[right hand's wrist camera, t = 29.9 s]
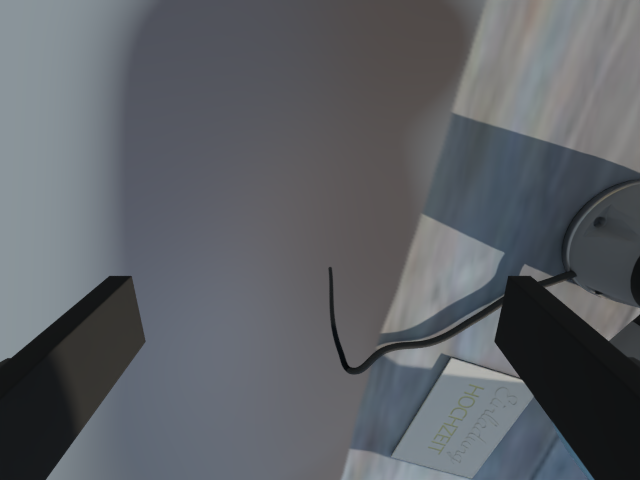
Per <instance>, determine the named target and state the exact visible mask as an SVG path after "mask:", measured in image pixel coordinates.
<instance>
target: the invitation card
mask: <svg viewBox="0 0 640 480" xmlns="http://www.w3.org/2000/svg"><path fill="white" fill-rule="evenodd" d="M533 397H534V396H533V394H532V393H531V391H530V390H529V389H528V387H527V386H526V385H525V383H524V382H523V380H522V379H519V378H516V377H513V376H509V375H506V374H503V373H500V372H497V371H493V370H490V369H487V368H484V367H480V366H477V365H474V364H471V363H468V362H464V361H461V360H458V359H455V358H452V357H451V359H450V360H449V362H448V363H447V365H446V367H445V368H444V370H443V372H442V373H441V375H440V377H439V378H438V380H437V381H436V383H435V385H434V386H433V388H432V390H431V391H430V393H429V395H428V396H427V398H426V399H425V401H424V403H423V404H422V406H421V408H420V409H419V411H418V413H417V414H416V416H415V417H414V419H413V421H412V422H411V424H410V426H409V427H408V429H407V431H406V432H405V434H404V435H403V437H402V439H401V440H400V442H399V444H398V445H397V447H396V449H395V450H394V452H393V453H392V455H391V457H392V458H396V459H400V460H403V461H407V462H411V463H415V464H418V465H422V466H426V467H430V468H433V469H437V470H441V471H445V472H448V473H452V474H456V475H460V476H463V477H467V478H471V479H472V478H473V477H474V476H475V474H476V473H477V472H478V470H479V469H480V468H481V466H482V465H483V464H484V462H485V461H486V460H487V458H488V457H489V456H490V454H491V453H492V452H493V450H494V449H495V448H496V446H497V445H498V444H499V442H500V441H501V440H502V438H503V437H504V436H505V434H506V433H507V432H508V430H509V429H510V428H511V426H512V425H513V424H514V422H515V421H516V420H517V418H518V417H519V416H520V414H521V413H522V412H523V410H524V409H525V408H526V406H527V405H528V404H529V402H530V401H531V400H532V398H533Z"/></svg>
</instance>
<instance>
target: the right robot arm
mask: <svg viewBox="0 0 640 480" xmlns="http://www.w3.org/2000/svg"><path fill="white" fill-rule="evenodd" d="M562 259H563V264H564V267H565V270H566V271H567V272H565V273H563V274H560V275H557V276H554V277H551V278H548V279H546V280H542V281H539V282H537V281H536V280H535V279H533V278H532V277H531V276H508V280H507V285H506V290H505V294H504V297H502V298H500V299H499V300H497V301H496V302H494V303H493V304H491V305H490V306H488V307H487V308H485V309H484V310H482V311H480V312H479V313H477V314H476V315H474V316H472V317H470V318H469V319H467V320H466V321H464V322H462V323H461V324H459V325H458V326H456V327H455V328H453V329H451V330H449V331H448V332H446V333H444V334H442V335H439V336H437V337H434V338H431V339H428V340H424V341H416V342H402V343H395V344H391V345H387V346H385V347H382V348H380V349H379V350H377V351H376V352H375V353H373V354H372V355H371V356H370V357H369V358H368V359H367V360H366V361H365V362H364V363H363V364H362V365H361V366H359V367H357V368H352V367H350V366H349V365H348V363H347V361H346V358H345V354H344V352H343V349H342V346H341V343H340V340H339V337H338V333H337V328H336V322H335V314H334V295H333V273H332V267H329V268H328V270H329V306H330V321H331V328H332V334H333V338H334V342H335V346H336V348H337V351H338V354H339V358H340V361H341V365H342V367H343V368H344V370H345V371H346V372H347V373H349V374H360V373H362V372H364V371H365V370H366V369H368V368H369V367H370V366H371V365H372V364H373V363H374V362H375V361H376V360H377V359H378V358H379V357H381V356H382V355H384V354H386V353H388V352H391V351H395V350H401V349H414V348H423V347H429V346H432V345H436V344H438V343H441V342H443V341H446V340H448V339H450V338H452V337H453V336H455V335H457V334H458V333H460V332H462V331H463V330H465V329H466V328H468V327H470V326H471V325H473V324H475V323H476V322H478V321H480V320H481V319H483V318H485V317H486V316H488V315H489V314H491V313H493V312H494V311H496V310H497V309H499V308H500V307H502V308H501V313H500V318H499V323H498V327H497V332H496V337H495V341H494V342H495V343H496V344H497V346H498V347H499V349H500V350H501V351H502V353H503V354H504V356H505V357H506V358H507V360H508V361H509V362H510V364H511V365H512V367H513V368H514V369H515V371H516V372H517V374H518V375H519V376H520V378H521V379H522V380H523V382H524V383H525V385H526V386H527V387H528V389H529V390H530V391H531V393H532V394H533V396H534V397H535V398H536V400H537V401H538V403H539V404H540V405H541V407H542V408H543V409H544V411H545V412H546V414H547V415H548V416H549V418H550V419H551V421H552V423H553V426H554V428H555V430H556V432H557V434H558V436H559V437H560V439H561V441H562V443H563V444H564V446H565V448H566V449H567V451H568V452H569V454H570V455H571V457H572V458H573V459H574V461H575V462H576V464H577V465H578V466H579V468H580V469H581V470H582V471H583V473H584V474H585V475H586V476H587V478H588V479H589V480H640V315H639V316H638V317H636V318H635V319H634V320H633V321H632V322H630V323H629V324H628V325H627V326H626V327H625V328H624V329H622V330H621V331H620V332H619V333H618V334H617V335H615V336H614V337H613V338H612V339H611V340H610V341H608V340H606V339H605V338H604V337H603V336H602V335H600V334H599V333H598V332H597V331H596V330H595V329H593V328H592V327H591V326H590V325H589V324H587V323H586V322H585V321H584V320H583V319H581V318H580V317H579V316H578V315H577V314H575V313H574V312H573V311H572V310H571V309H569V308H568V307H567V306H566V305H565V304H563V303H562V302H561V301H560V300H559V299H557V298H556V297H555V296H554V295H553V294H551V293H550V292H549V291H548V290H547V289H545V287H548V286H551V285H554V284H557V283H560V282H563V281H566V280H569V279H572V280H573V281H574V282H575V283H577V284H578V285H579V286H581V287H582V288H584V289H585V290H587V291H588V292H590V293H592V294H594V295H597V296H599V297H602V298H605V299H609V300H613V301H616V302H620V303H623V304H627V305H631V306H634V307H638V308H640V180H633V181H628V182H624V183H621V184H618V185H615V186H613V187H611V188H609V189H607V190H605V191H603V192H601V193H600V194H598V195H597V196H595V197H594V198H593V199H592V200H590V201H589V202H588V203H587V204H586V205H585V206H584V207H583V208H582V209H581V210H580V211H579V212H578V214H577V215H576V216H575V217H574V219H573V221H572V222H571V224H570V226H569V227H568V230H567V232H566V234H565V238H564V241H563V247H562ZM144 343H145V337H144V332H143V327H142V323H141V318H140V313H139V309H138V304H137V299H136V294H135V290H134V285H133V280H132V276H109V277H108V278H107V279H105V280H104V281H103V282H102V283H101V284H99V285H98V286H97V287H96V288H95V289H93V290H92V291H91V292H90V293H89V294H87V295H86V296H85V297H84V298H83V299H82V300H80V301H79V302H78V303H77V304H76V305H74V306H73V307H72V308H71V309H69V310H68V311H67V312H66V313H65V314H64V315H62V316H61V317H60V318H59V319H57V320H56V321H55V322H54V323H53V324H51V325H50V326H49V327H48V328H47V329H46V330H44V331H43V332H42V333H41V334H40V335H38V336H37V337H36V338H35V339H34V340H32V341H31V342H30V343H29V344H28V345H26V346H25V347H24V348H23V349H22V350H20V351H19V352H18V353H17V354H16V355H14V356H13V357H12V358H7V359H5V360H3V361H2V362H0V480H46V479H47V477H48V476H49V474H50V473H51V472H52V470H53V469H54V468H55V466H56V465H57V463H58V462H59V461H60V459H61V458H62V456H63V455H64V454H65V452H66V451H67V450H68V448H69V447H70V445H71V444H72V443H73V441H74V440H75V439H76V437H77V436H78V434H79V433H80V432H81V430H82V429H83V427H84V426H85V425H86V423H87V422H88V421H89V419H90V418H91V416H92V415H93V414H94V412H95V411H96V409H97V408H98V407H99V405H100V404H101V402H102V401H103V400H104V398H105V397H106V396H107V394H108V393H109V391H110V390H111V389H112V387H113V386H114V385H115V383H116V382H117V380H118V379H119V378H120V376H121V375H122V374H123V372H124V371H125V369H126V368H127V367H128V365H129V364H130V362H131V361H132V360H133V358H134V357H135V355H136V354H137V353H138V351H139V350H140V349H141V347H142V346H143V344H144Z"/></svg>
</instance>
